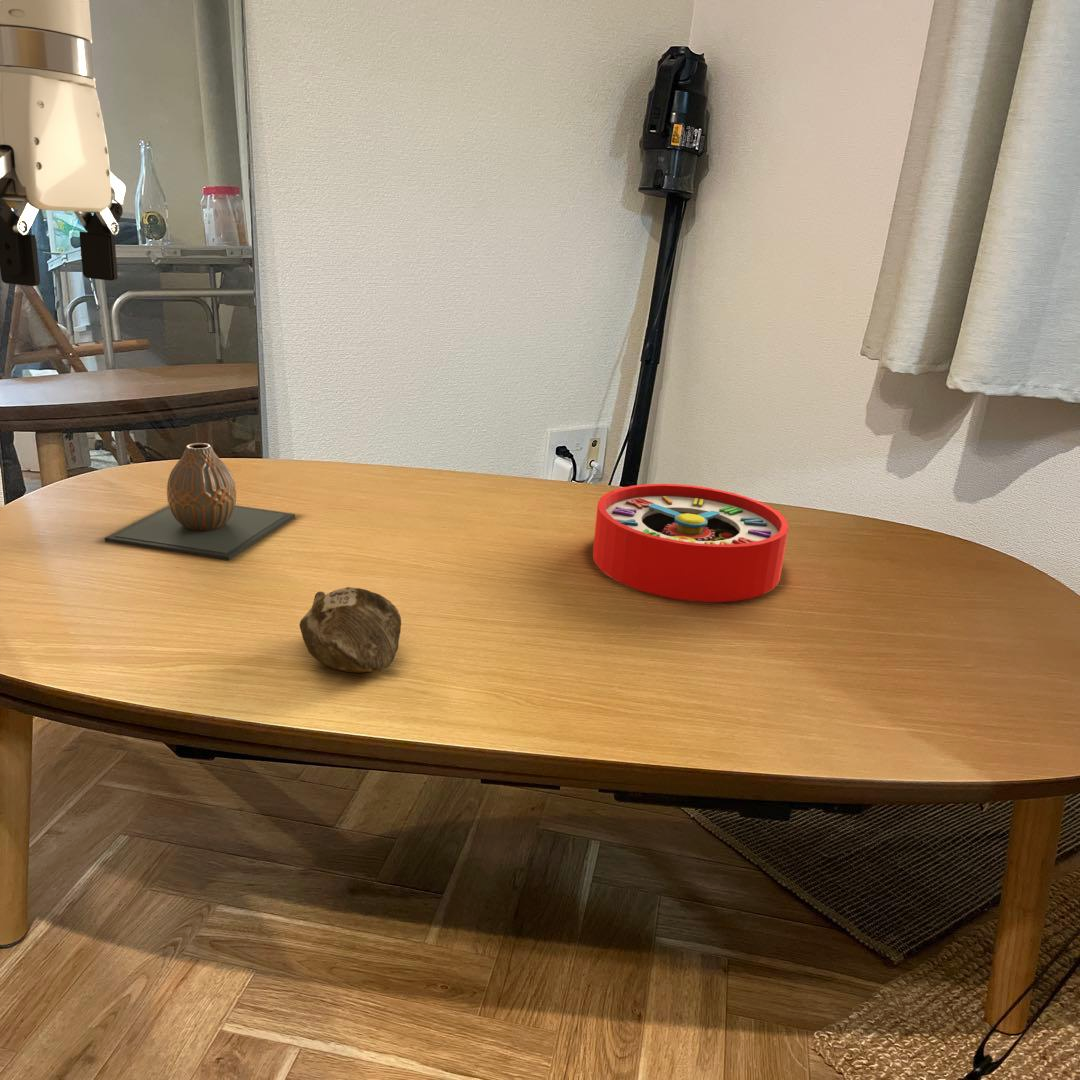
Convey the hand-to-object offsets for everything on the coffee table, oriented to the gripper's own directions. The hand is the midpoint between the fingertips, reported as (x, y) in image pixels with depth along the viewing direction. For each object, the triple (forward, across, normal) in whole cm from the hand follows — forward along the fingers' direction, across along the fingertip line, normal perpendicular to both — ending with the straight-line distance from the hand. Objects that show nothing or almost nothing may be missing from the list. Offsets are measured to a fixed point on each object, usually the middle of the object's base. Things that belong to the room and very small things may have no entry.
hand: (63, 281), depth 78 cm
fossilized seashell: (+26, +9, +31) cm, 42 cm away
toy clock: (+25, -22, +56) cm, 65 cm away
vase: (+26, -12, +5) cm, 29 cm away
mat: (+26, -12, +5) cm, 29 cm away
